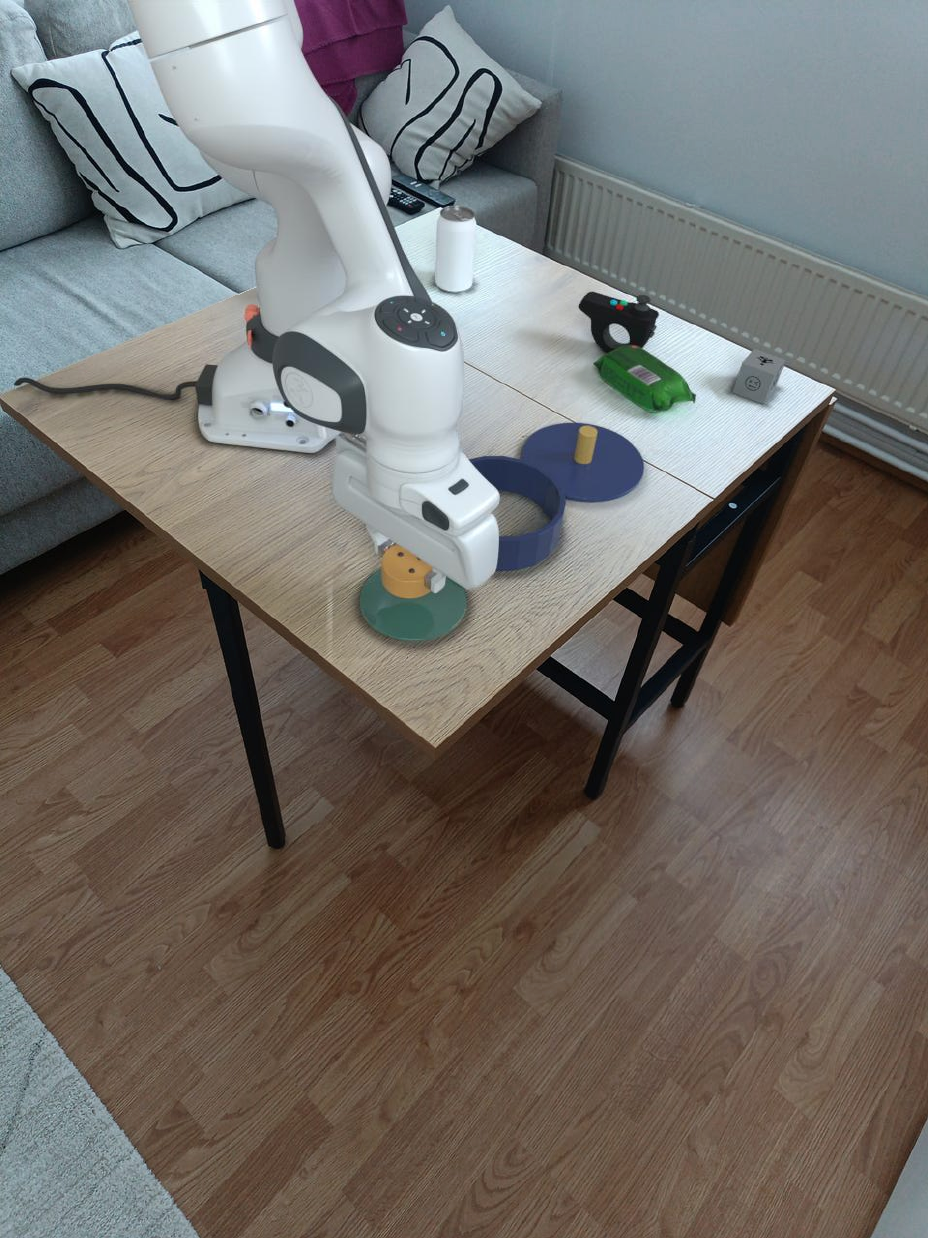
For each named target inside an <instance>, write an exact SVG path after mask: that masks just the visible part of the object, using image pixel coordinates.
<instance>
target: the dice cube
mask: <svg viewBox="0 0 928 1238" xmlns="http://www.w3.org/2000/svg"><path fill="white" fill-rule="evenodd" d="M786 361H787V360H786V359H785V358H780V357H778V356H776V355H772V354H770V353H767V352H765V351H762V350H759V349H756V348H753V349H752V351H751V352H750V353H748V355H747V357H745V358H744V360H742V362H741V365H740V368H739V371H738V374H737V376H736V380H735V383H734V386H733V388H732V391H731V393H732V394H736V395H738V396H741V397H743V398H746V399H748V400H751V401H753V402H757V403H759V404H761V405H765V404H766V402H767V401H768V400H769V398H770V397H771V395H772V394H773V393H774V392H775V390H776V388H777V386H778V383H779V380H780V377H781V375H782V372H783V369H784V367H785V364H786Z"/></svg>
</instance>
